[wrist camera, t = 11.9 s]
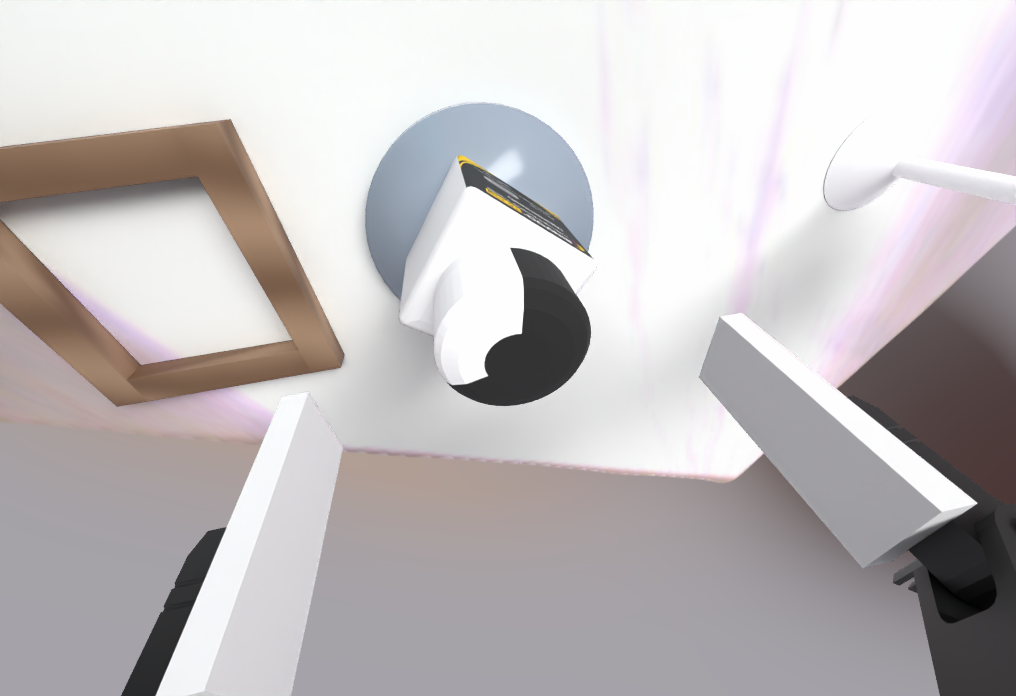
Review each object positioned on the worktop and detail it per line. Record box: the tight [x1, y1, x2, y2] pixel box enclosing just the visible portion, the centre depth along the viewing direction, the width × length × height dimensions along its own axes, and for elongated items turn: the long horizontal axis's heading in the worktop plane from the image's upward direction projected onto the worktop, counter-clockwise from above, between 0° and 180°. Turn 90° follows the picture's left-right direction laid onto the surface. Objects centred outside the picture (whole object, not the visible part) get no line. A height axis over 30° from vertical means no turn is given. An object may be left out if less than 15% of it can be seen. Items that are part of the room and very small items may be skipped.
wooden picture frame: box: [0, 119, 344, 406], centre depth 21 cm, size 15×15×2 cm
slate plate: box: [366, 102, 593, 300], centre depth 23 cm, size 14×14×1 cm
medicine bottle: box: [399, 155, 597, 406], centre depth 18 cm, size 7×7×12 cm
